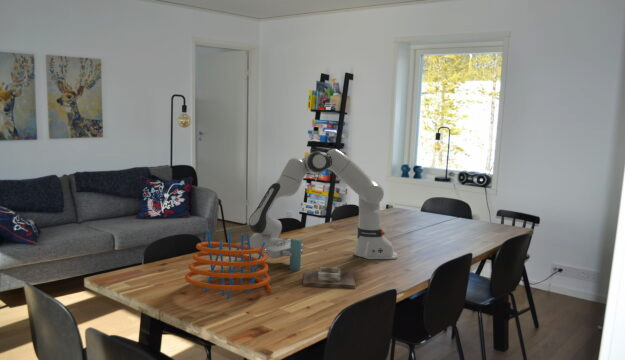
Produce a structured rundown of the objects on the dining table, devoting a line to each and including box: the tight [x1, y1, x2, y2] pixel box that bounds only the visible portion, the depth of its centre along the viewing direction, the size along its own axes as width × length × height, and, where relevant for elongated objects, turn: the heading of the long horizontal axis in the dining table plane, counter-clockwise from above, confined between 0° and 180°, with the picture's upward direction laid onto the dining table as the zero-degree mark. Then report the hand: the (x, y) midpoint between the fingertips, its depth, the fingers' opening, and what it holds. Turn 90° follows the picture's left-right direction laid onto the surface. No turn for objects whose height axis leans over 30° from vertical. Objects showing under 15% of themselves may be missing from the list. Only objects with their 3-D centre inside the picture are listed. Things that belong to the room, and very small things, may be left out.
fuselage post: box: [289, 238, 302, 272], centre depth 243 cm, size 5×5×14 cm
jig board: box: [302, 266, 356, 290], centre depth 229 cm, size 22×18×4 cm
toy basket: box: [184, 229, 272, 300], centre depth 211 cm, size 34×35×24 cm
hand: (296, 253), depth 242 cm, fingers closed on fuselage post, 5 cm apart
